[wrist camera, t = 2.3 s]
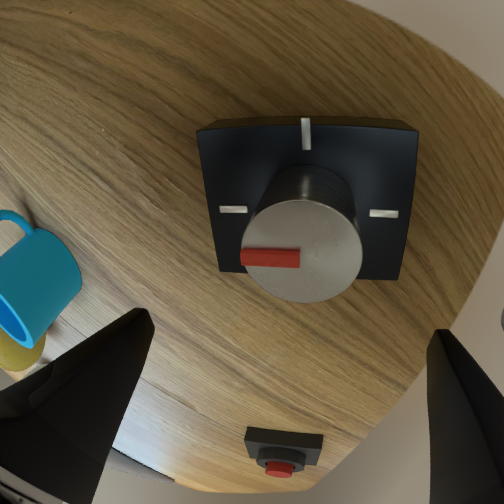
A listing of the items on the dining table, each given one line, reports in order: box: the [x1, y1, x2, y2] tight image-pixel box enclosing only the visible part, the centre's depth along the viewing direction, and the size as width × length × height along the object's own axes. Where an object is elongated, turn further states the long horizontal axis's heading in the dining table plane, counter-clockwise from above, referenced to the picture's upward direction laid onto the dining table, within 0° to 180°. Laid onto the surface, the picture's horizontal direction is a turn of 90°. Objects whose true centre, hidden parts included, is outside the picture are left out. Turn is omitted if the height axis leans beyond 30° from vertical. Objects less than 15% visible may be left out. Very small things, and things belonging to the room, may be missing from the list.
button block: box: [244, 427, 323, 472], centre depth 35 cm, size 10×8×4 cm
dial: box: [240, 165, 363, 303], centre depth 12 cm, size 4×4×4 cm
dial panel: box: [196, 116, 419, 281], centre depth 15 cm, size 10×9×3 cm
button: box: [265, 462, 294, 478], centre depth 33 cm, size 4×4×2 cm
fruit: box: [0, 327, 46, 372], centre depth 29 cm, size 10×11×10 cm
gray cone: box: [105, 448, 175, 483], centre depth 73 cm, size 8×9×26 cm
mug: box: [0, 210, 82, 348], centre depth 22 cm, size 12×8×8 cm
